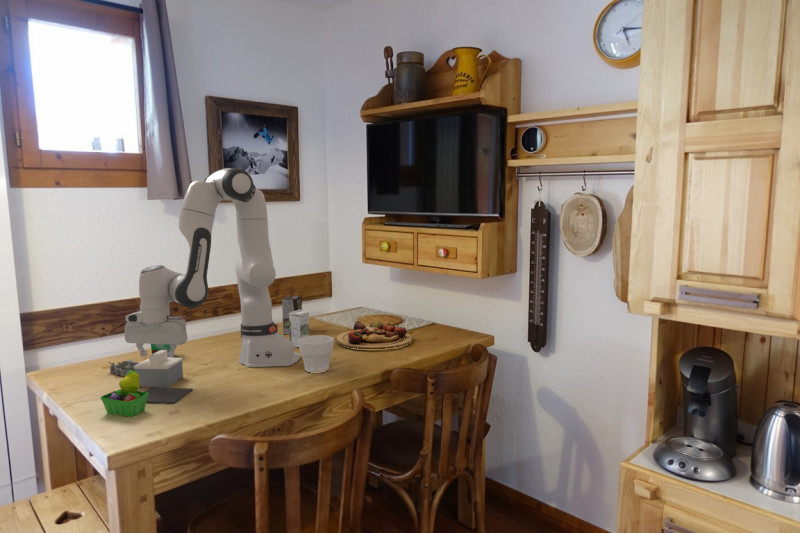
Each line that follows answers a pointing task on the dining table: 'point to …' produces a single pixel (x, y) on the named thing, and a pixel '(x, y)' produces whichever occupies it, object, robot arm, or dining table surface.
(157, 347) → the food container
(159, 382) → the crate
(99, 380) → the dining table surface
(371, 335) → the wooden plate with food
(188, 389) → the mat
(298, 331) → the syrup box
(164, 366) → the lid
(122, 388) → the fruit basket
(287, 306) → the coffee box
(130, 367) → the egg carton
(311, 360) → the cup
